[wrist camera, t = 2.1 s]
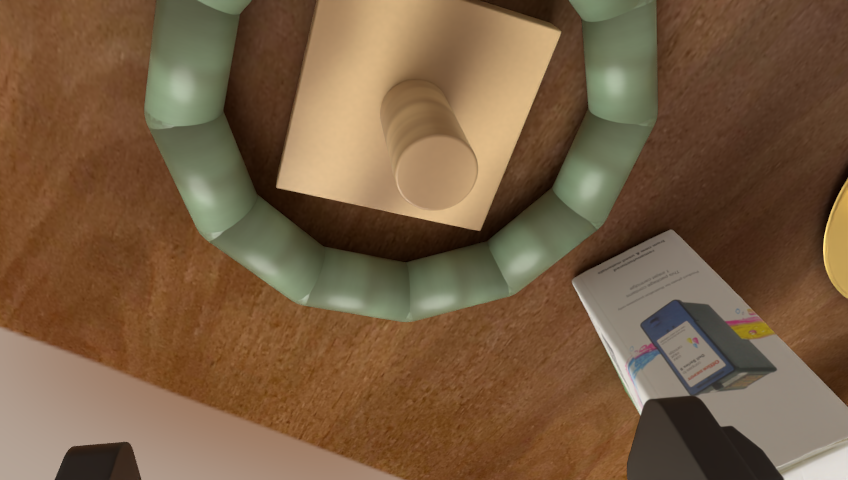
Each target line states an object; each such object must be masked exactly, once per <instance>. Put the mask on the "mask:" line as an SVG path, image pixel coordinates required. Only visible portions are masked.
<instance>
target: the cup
mask: <svg viewBox="0 0 848 480" xmlns="http://www.w3.org/2000/svg"><path fill="white" fill-rule="evenodd" d="M823 254H824V263H825V267H826V271H827V274H828V276H829V278H830V280H831V282H832V283H833V285H834V286H835V288H836V289H837V290H838V291H839V292H840V293H841V294H842V295H843V296H845V297H846V298H847V299H848V179H847V181H846V182H845V184H844V185H843V187H842V189H841V191H840V193H839V195H838V197H837V199H836V201H835V203H834V205H833V208H832V210H831V213H830V216H829V219H828V222H827V226H826V230H825V235H824V244H823Z"/></svg>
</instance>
